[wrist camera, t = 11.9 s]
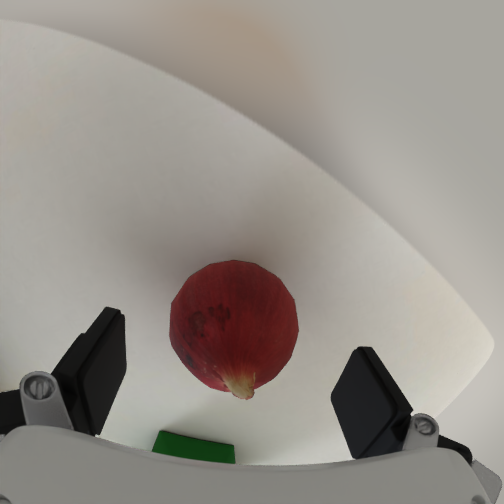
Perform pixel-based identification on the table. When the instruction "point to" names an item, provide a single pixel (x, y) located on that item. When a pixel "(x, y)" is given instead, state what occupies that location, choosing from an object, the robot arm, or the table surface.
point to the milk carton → (193, 448)
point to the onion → (234, 326)
